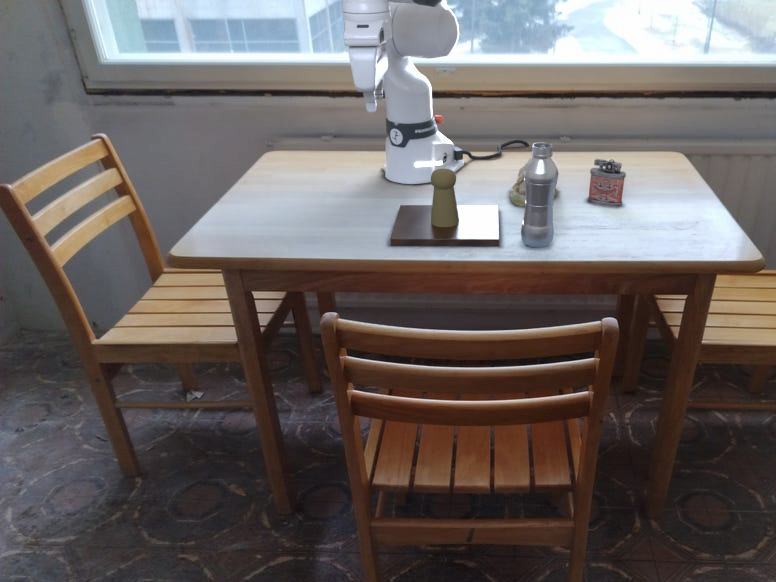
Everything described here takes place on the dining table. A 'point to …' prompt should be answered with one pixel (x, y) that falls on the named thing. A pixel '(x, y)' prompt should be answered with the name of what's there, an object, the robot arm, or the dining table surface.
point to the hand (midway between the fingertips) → (375, 104)
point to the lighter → (606, 183)
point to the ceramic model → (521, 188)
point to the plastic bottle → (539, 196)
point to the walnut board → (471, 230)
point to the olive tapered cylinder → (444, 199)
